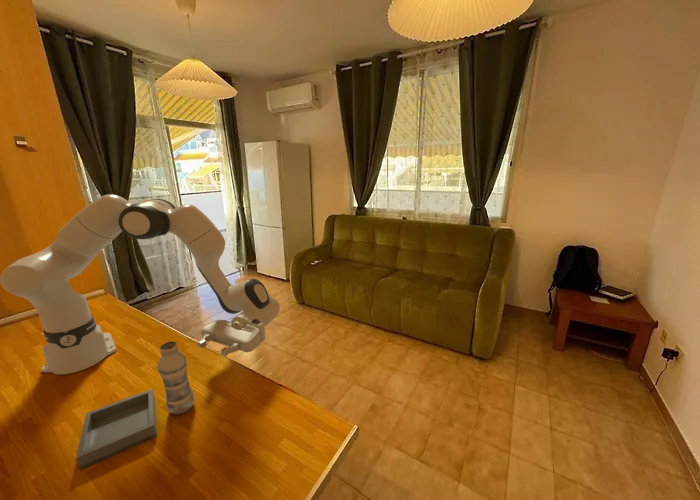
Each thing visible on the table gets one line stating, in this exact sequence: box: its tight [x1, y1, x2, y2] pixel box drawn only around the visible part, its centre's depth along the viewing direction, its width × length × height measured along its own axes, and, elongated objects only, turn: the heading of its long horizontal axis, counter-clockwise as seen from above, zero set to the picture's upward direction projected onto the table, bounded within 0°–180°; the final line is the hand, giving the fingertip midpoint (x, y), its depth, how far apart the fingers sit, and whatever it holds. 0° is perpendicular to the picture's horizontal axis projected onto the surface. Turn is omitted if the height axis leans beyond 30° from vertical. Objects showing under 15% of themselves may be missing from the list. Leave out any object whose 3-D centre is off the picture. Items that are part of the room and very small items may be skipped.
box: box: [75, 388, 158, 470], centre depth 71 cm, size 14×14×4 cm
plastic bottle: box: [156, 340, 195, 415], centre depth 74 cm, size 6×7×20 cm
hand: (210, 349), depth 84 cm, fingers open, 8 cm apart
